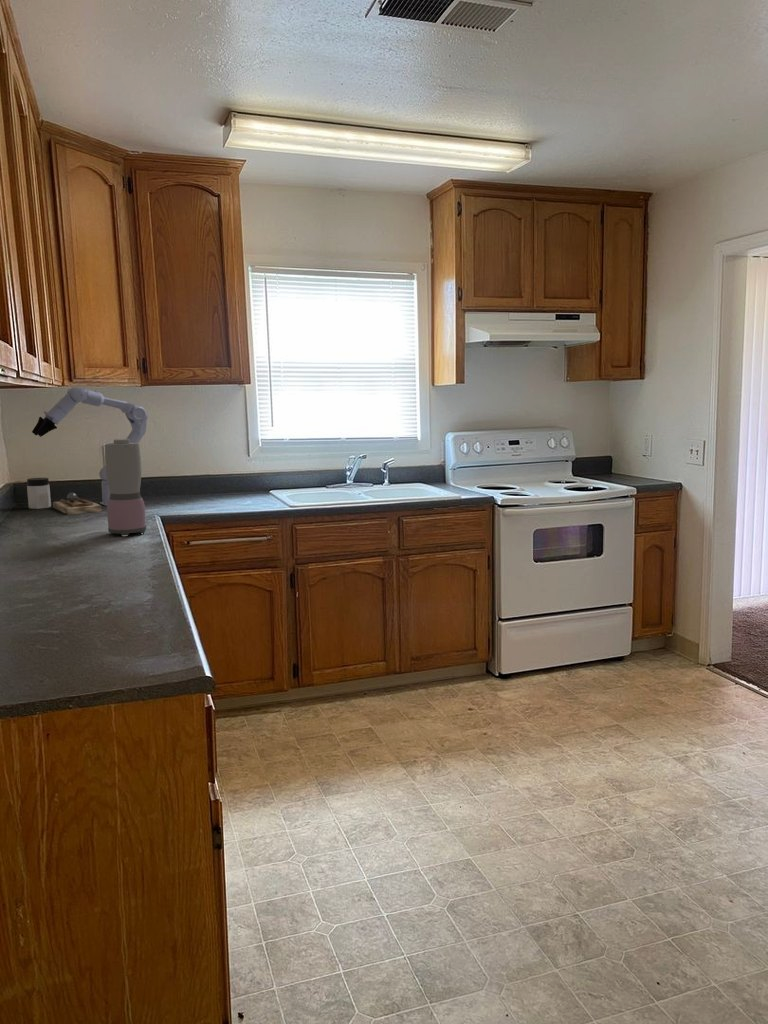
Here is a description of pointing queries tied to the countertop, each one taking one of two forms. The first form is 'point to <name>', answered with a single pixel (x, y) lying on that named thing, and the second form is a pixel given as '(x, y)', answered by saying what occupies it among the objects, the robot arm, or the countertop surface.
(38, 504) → the jar
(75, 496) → the ball
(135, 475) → the blender
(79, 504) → the board
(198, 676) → the countertop surface
